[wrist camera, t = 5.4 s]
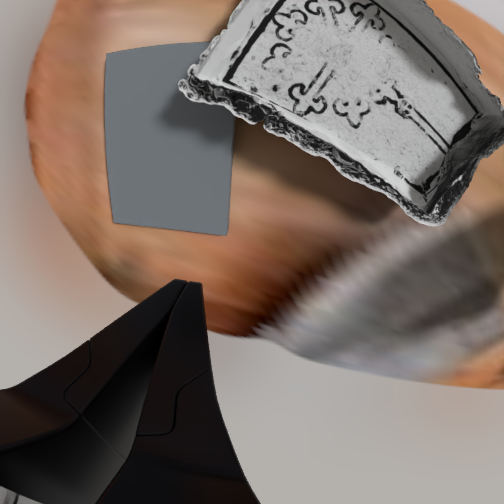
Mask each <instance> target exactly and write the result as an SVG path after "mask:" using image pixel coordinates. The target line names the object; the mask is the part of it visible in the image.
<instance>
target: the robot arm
mask: <svg viewBox="0 0 504 504" xmlns="http://www.w3.org/2000/svg"><path fill="white" fill-rule="evenodd" d="M0 504H261V503H260V502H259V500H258V499H257V497H256V495H255V493H254V492H253V490H252V488H251V486H250V485H249V483H248V481H247V479H246V477H245V475H244V472H243V470H242V468H241V465H240V463H239V461H238V458H237V456H236V453H235V451H234V448H233V445H232V442H231V440H230V437H229V434H228V431H227V429H226V426H225V423H224V420H223V417H222V414H221V411H220V407H219V404H218V401H217V396H216V391H215V386H214V379H213V373H212V366H211V359H210V351H209V343H208V335H207V326H206V317H205V308H204V298H203V288H202V284H201V283H199V282H192V281H190V282H187V281H185V280H179V279H174V280H172V281H171V282H169V283H168V284H167V285H165V286H164V287H162V288H161V289H159V290H158V291H156V292H155V293H154V294H152V295H151V296H149V297H148V298H146V299H145V300H144V301H142V302H141V303H139V304H138V305H136V306H135V307H134V308H132V309H131V310H130V311H128V312H127V313H125V314H124V315H122V316H121V317H120V318H118V319H117V320H115V321H114V322H112V323H111V324H110V325H108V326H107V327H105V328H104V329H103V330H101V331H100V332H99V333H97V334H96V335H94V336H93V337H92V338H90V340H87V341H86V342H85V343H83V344H82V345H81V346H79V347H78V348H76V349H75V350H73V351H72V352H70V353H69V354H68V355H66V356H65V357H63V358H61V359H60V360H58V361H57V362H55V363H53V364H52V365H50V366H48V367H47V368H45V369H44V370H42V371H40V372H38V373H37V374H35V375H33V376H31V377H30V378H28V379H26V380H25V381H23V382H21V383H19V384H18V385H16V386H13V387H11V388H7V389H2V390H0Z"/></svg>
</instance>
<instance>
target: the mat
mask: <svg viewBox="0 0 504 504" xmlns="http://www.w3.org/2000/svg"><path fill="white" fill-rule="evenodd" d="M210 43H211V42H194V43H178V44H166V45H157V46H148V47H141V48H135V49H128V50H123V51H117V52H112V53H107V54H106V69H105V141H106V157H107V170H108V181H109V190H110V199H111V207H112V214H113V221H114V223H120V224H129V225H138V226H147V227H156V228H165V229H173V230H182V231H190V232H199V233H207V234H215V235H223V236H227V233H228V229H229V210H230V193H231V176H232V161H233V146H234V132H235V119H236V116H235V115H233V114H232V112H231V111H230V110H228V109H227V108H226V107H225V106H222V105H217V104H211V105H210V104H207V103H205V102H194V101H191V100H190V99H188V98H187V97H185V94H184V93H183V92H182V91H180V90H179V88H178V82H179V81H180V80H181V79H185V80H187V79H188V78H189V75H188V69H189V68H190V66H191V65H193V64H196V65H198V64H199V61H200V60H201V59H200V54H201V53H202V52H204V51H205V50H206V49H207V48H208V46H209V44H210Z"/></svg>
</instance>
